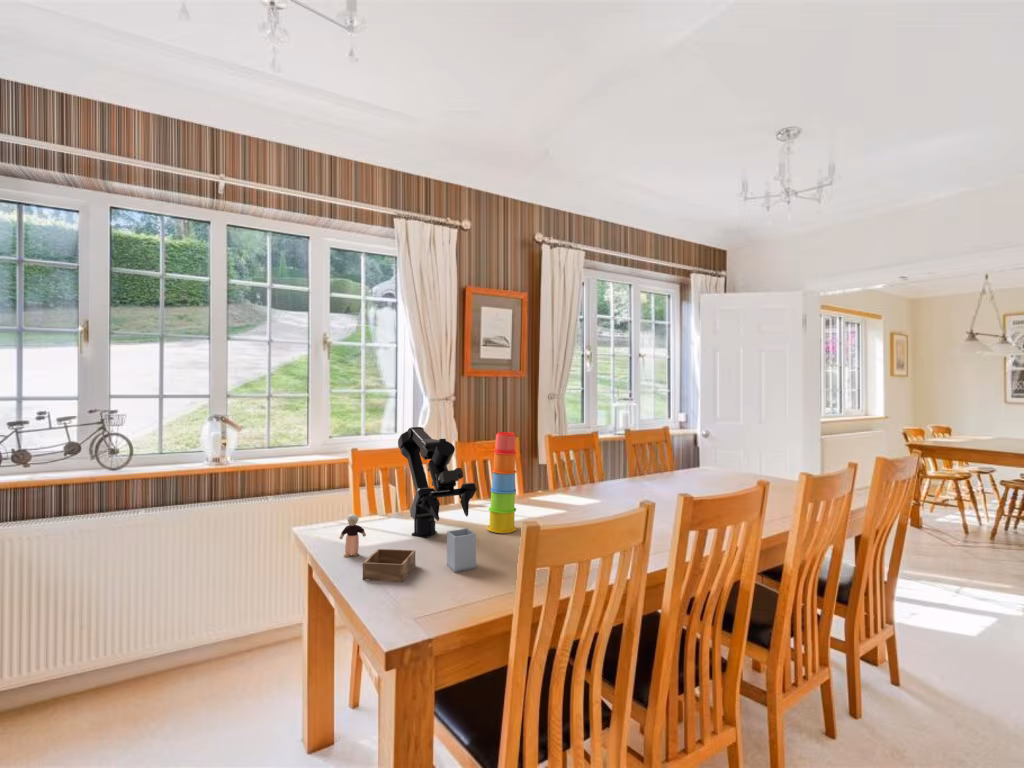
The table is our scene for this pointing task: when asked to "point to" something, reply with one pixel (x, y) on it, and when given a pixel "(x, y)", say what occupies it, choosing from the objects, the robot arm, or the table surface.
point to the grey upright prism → (461, 550)
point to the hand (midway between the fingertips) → (453, 517)
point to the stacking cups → (503, 485)
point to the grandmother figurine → (352, 536)
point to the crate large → (389, 564)
